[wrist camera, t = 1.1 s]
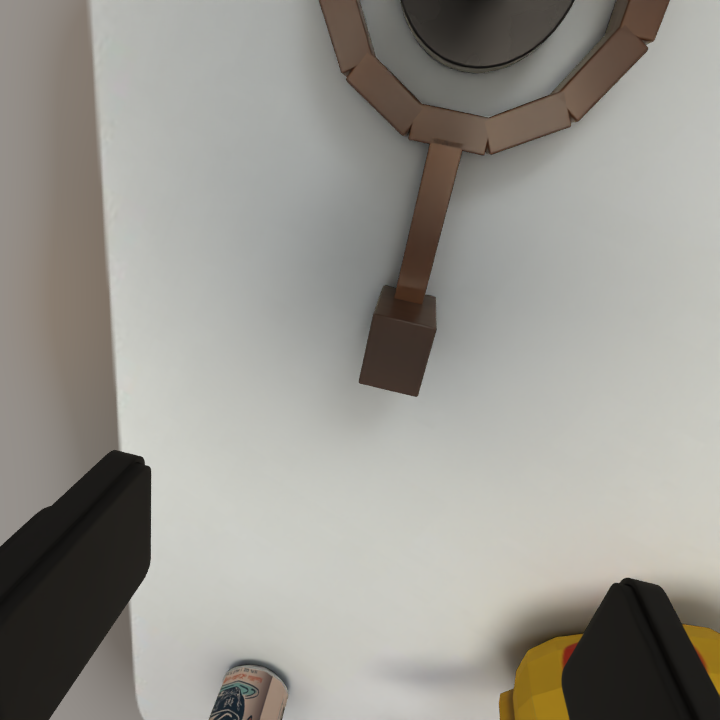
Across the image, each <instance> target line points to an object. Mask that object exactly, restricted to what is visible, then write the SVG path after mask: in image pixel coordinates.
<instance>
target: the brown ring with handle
mask: <svg viewBox="0 0 720 720" xmlns="http://www.w3.org/2000/svg"><path fill="white" fill-rule="evenodd" d="M669 1H670V0H617V1H616V3H615V6H614V9H613V12H612V15H611V18H610V21H609V24H608V27H607V29H606V32H605V35H604V37H603V38H602V39H601V40H600V41H599V42H598V43H597V44H596V45H595V47H594V48H593V49H592V50H591V51H590V52H589V53H588V54H587V55H586V56H585V57H584V58H583V59H582V61H581V62H580V63H579V64H578V65H577V66H576V67H575V68H574V69H573V70H572V71H571V72H570V74H569V75H568V76H567V77H566V78H565V79H564V80H563V81H562V82H561V83H560V84H559V85H558V86H557V88H556V89H555V90H554V91H553V92H552V93H551V94H550V95H548V96H545V97H543V98H540V99H537V100H534V101H532V102H529V103H526V104H524V105H521V106H518V107H516V108H513V109H510V110H507V111H505V112H502V113H499V114H497V115H494V116H491V117H489V118H488V117H483V116H478V115H473V114H469V113H464V112H459V111H454V110H450V109H445V108H440V107H435V106H430V105H426V104H422V103H421V102H420V101H419V100H418V99H417V98H416V97H415V96H414V95H413V94H412V93H411V92H410V91H409V90H408V89H407V88H406V87H405V86H404V85H403V84H402V83H401V82H400V81H399V80H398V79H397V78H396V77H395V76H394V75H393V74H392V73H391V72H390V71H389V70H388V69H387V68H386V67H385V66H384V65H383V64H382V63H381V62H380V61H379V60H378V59H377V58H376V56H375V53H374V49H373V45H372V42H371V38H370V35H369V31H368V28H367V24H366V21H365V17H364V14H363V10H362V7H361V3H360V0H319V2H320V6H321V9H322V12H323V15H324V19H325V22H326V25H327V28H328V31H329V35H330V38H331V41H332V44H333V48H334V51H335V54H336V57H337V60H338V64H339V67H340V70H341V73H342V74H344V75H345V76H346V77H347V78H346V80H347V82H348V83H349V84H350V85H351V86H352V87H353V88H354V89H355V90H356V91H357V92H358V93H359V94H360V95H361V96H362V97H363V98H364V99H365V100H366V101H367V102H368V103H369V104H370V105H371V106H372V107H374V108H375V109H376V110H377V111H378V112H379V113H380V114H381V115H382V116H383V117H384V118H385V119H386V120H387V121H388V122H389V123H390V124H391V125H392V126H393V127H394V128H395V129H396V130H397V131H398V132H399V133H400V134H401V135H403V136H407V135H408V133H409V132H410V133H409V137H408V138H409V140H413V141H418V142H422V143H427V144H430V145H429V149H428V153H427V158H426V162H425V166H424V171H423V175H422V179H421V184H420V188H419V192H418V197H417V201H416V205H415V209H414V214H413V218H412V222H411V227H410V231H409V235H408V240H407V244H406V248H405V253H404V257H403V261H402V265H401V270H400V274H399V278H398V283H397V287H396V288H394V287H389V286H383V288H382V290H381V293H380V296H379V299H378V302H377V305H376V308H375V311H374V314H373V317H372V322H371V327H370V331H369V336H368V340H367V345H366V350H365V354H364V359H363V364H362V368H361V373H360V378H359V383H360V384H364V385H368V386H373V387H377V388H381V389H385V390H390V391H394V392H398V393H402V394H406V395H411V396H415V397H417V396H418V394H419V390H420V387H421V383H422V380H423V376H424V372H425V369H426V365H427V362H428V358H429V355H430V351H431V348H432V344H433V340H434V337H435V333H436V330H437V327H436V297H433V296H429V295H425V292H426V289H427V285H428V281H429V277H430V273H431V269H432V266H433V262H434V258H435V254H436V250H437V246H438V243H439V239H440V235H441V231H442V227H443V223H444V219H445V216H446V212H447V208H448V204H449V200H450V196H451V193H452V189H453V185H454V181H455V177H456V173H457V170H458V166H459V162H460V158H461V154H462V151H465V152H469V153H474V154H479V155H484V154H485V153H486V154H491V155H492V154H495V153H498V152H500V151H503V150H506V149H509V148H512V147H515V146H518V145H520V144H523V143H526V142H529V141H532V140H535V139H538V138H540V137H543V136H546V135H549V134H552V133H555V132H558V131H560V130H563V129H566V128H569V127H570V126H571V123H572V122H578V121H579V120H580V119H581V118H582V117H583V116H584V115H585V114H586V113H587V112H588V111H589V110H590V109H591V108H592V107H593V106H594V105H595V104H596V103H597V102H598V101H599V100H600V99H601V98H602V97H603V96H604V95H605V94H606V93H607V92H608V91H609V90H610V89H611V88H612V87H613V86H614V85H615V84H616V83H617V82H618V81H619V79H620V78H621V77H622V76H623V75H624V74H625V73H626V72H627V71H628V70H629V69H630V68H631V67H632V66H633V65H634V64H635V63H636V62H637V61H638V60H639V59H640V58H641V57H642V56H643V55H644V54H645V53H646V52H647V50H648V47H647V46H646V45H647V44H649V43H651V42H653V41H654V40H655V38H656V35H657V32H658V30H659V27H660V25H661V22H662V19H663V17H664V14H665V12H666V9H667V7H668V4H669Z"/></svg>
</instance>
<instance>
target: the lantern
mask: <svg viewBox="0 0 720 720" xmlns="http://www.w3.org/2000/svg"><path fill="white" fill-rule="evenodd" d="M682 625H683V627H684V629H685V631H686V633H687V635H688V637H689V638H690V640H691V642H692V644H693V646H694V648H695V650H696V652H697V654H698V656H699V657H700V659H701V661H702V663H703V665H704V667H705V669H706V671H707V673H708V675H709V676H710V678H711V680H712V682H713V684H714V686H715V688H716V690H717V692H718V694H719V695H720V634H719V633H717V632H716V631H714V630H712V629H710V628H706V627H699V626H692V625H684V624H682ZM582 635H583V634H577V635H569V636H562V637H555V638H553V639H551V640H548V641H546V642H544V643H542V644H540V645H538V646H536V647H534V648H532V649H530V650H528V651H527V653H526V655H525V656H524V658H523V660H522V662H521V663H520V665H519V667H518V668H517V670H516V677H515V684H514V689H511V690H509V691H506V692H504V693H501V694H500V700H499V711H500V720H569V716H568V712H567V707H566V703H565V699H564V695H563V691H562V683H561V678H562V671H563V668H564V666H565V665H566V663H567V661H568V659H569V658H570V656H571V654H572V652H573V651H574V649H575V647H576V646H577V644H578V642H579V640H580V639H581V637H582Z"/></svg>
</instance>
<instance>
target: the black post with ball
mask: <svg viewBox="0 0 720 720" xmlns="http://www.w3.org/2000/svg"><path fill="white" fill-rule="evenodd" d="M400 1H401V5H402V9H403V12H404V16H405V19H406V21H407V24H408V26H409V28H410V30H411V32H412V34H413V35H414V37H415V38H416V40H417V42H418V43H419V44H420V45H421V46H422V48H423V49H424V50H425V51H426V52H427V53H428V54H429V55H430V56H432V57H433V58H434V59H436V60H437V61H439V62H440V63H442V64H443V65H446V66H448V67H450V68H452V69H456V70H459V71H463V72H471V73H485V72H491V71H496V70H499V69H502V68H505V67H508V66H510V65H512V64H514V63H516V62H518V61H520V60H521V59H523V58H525V57H526V56H528V55H529V54H530V53H531V52H533V51H534V50H535V49H536V48H538V47H539V46H540V45H541V44H542V43H543V42H544V41H545V40H546V39H547V38H548V37H549V36H550V35H551V34H552V33H553V32H554V31H555V30H556V28H557V27H558V26H559V25H560V23H561V22H562V21H563V20H564V18H565V16H566V15H567V13H568V12H569V10H570V8H571V7H572V5H573V3H574V1H575V0H400Z"/></svg>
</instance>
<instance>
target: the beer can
mask: <svg viewBox="0 0 720 720" xmlns="http://www.w3.org/2000/svg"><path fill="white" fill-rule="evenodd" d="M287 699H288V690H287V687H286V685H285V684H284V683H283V681H282V680H281V679H280V678H279V677H278V676H277V675H276V674H275V673H274V672H272V671H271V670H269V669H267V668H265V667H262V666H257V665H245V666H239V667H235V668H232V669H231V670H229V671H228V672H227V673H226V674H225V676H224V679H223V684H222V687H221V689H220V692H219V694H218V697H217V699H216V702H215V705H214V707H213V710H212V712H211V715H210V717H209V720H282V718H283V714H284V710H285V706H286V702H287Z"/></svg>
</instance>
